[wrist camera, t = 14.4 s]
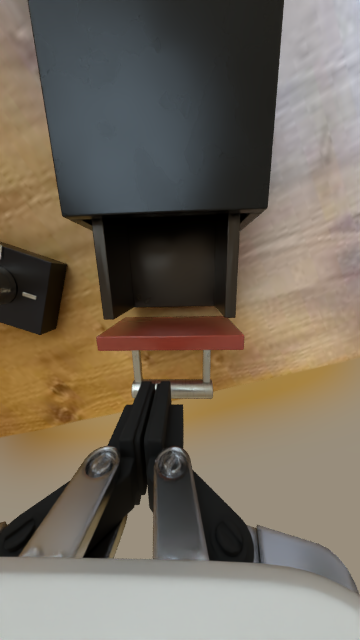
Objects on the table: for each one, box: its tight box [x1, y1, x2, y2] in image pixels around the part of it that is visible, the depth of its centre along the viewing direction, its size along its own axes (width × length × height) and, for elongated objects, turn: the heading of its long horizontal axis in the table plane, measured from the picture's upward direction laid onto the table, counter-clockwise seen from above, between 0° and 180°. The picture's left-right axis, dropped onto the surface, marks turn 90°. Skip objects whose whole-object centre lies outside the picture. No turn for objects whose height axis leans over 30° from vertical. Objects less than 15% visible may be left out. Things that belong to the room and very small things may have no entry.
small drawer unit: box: [28, 0, 284, 231], centre depth 13 cm, size 15×13×9 cm
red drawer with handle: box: [91, 213, 244, 399], centre depth 16 cm, size 18×11×7 cm, turn 1°
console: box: [0, 242, 67, 335], centre depth 20 cm, size 10×8×3 cm
